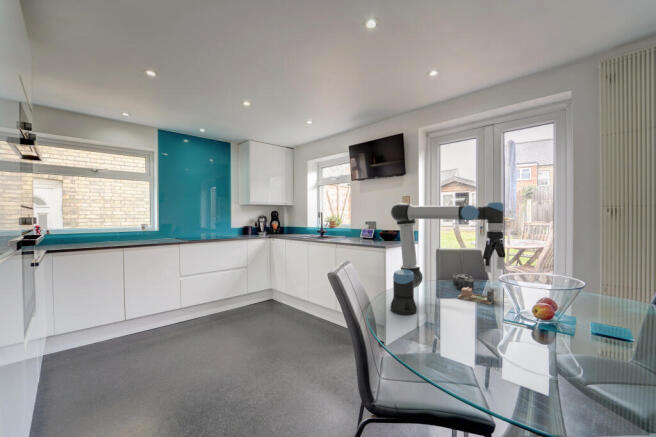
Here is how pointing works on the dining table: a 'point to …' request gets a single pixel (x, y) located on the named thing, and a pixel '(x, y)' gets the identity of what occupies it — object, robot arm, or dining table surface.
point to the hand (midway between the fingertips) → (494, 270)
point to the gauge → (466, 292)
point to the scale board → (480, 297)
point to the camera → (463, 281)
